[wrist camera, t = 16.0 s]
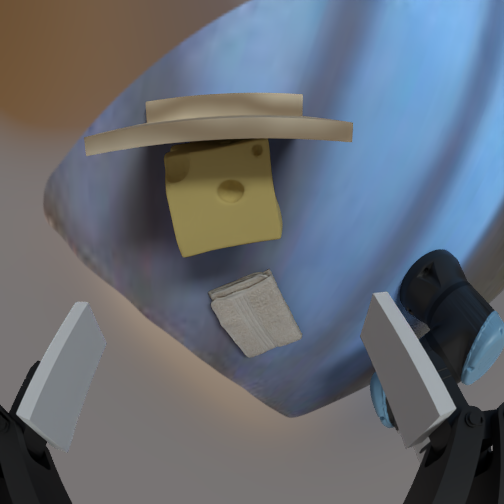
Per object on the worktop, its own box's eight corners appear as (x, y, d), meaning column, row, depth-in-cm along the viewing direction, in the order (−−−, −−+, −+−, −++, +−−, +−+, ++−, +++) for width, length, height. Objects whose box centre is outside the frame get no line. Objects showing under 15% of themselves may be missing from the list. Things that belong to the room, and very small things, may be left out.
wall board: (296, 208, 40) (335, 279, 24) (159, 214, 39) (115, 286, 23) (299, 95, 32) (353, 84, 16) (149, 102, 31) (81, 101, 15)
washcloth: (268, 262, 45) (270, 273, 42) (303, 331, 53) (306, 342, 50) (203, 289, 47) (202, 301, 44) (249, 351, 55) (250, 362, 52)
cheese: (175, 144, 31) (151, 158, 22) (264, 127, 30) (275, 134, 22) (193, 221, 36) (179, 261, 27) (275, 208, 35) (288, 243, 27)
